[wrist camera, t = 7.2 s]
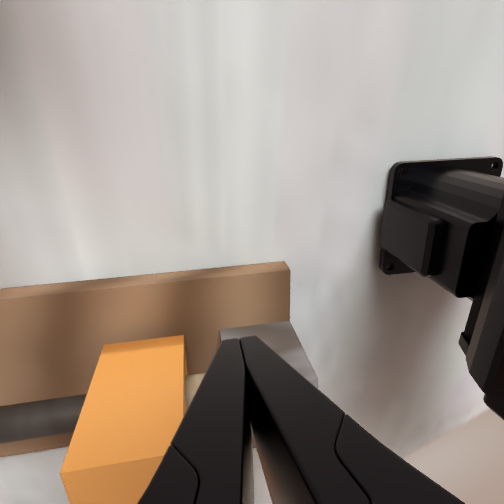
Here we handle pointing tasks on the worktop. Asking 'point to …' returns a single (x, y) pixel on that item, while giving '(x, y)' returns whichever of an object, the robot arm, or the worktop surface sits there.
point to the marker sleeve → (126, 421)
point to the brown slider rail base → (126, 337)
